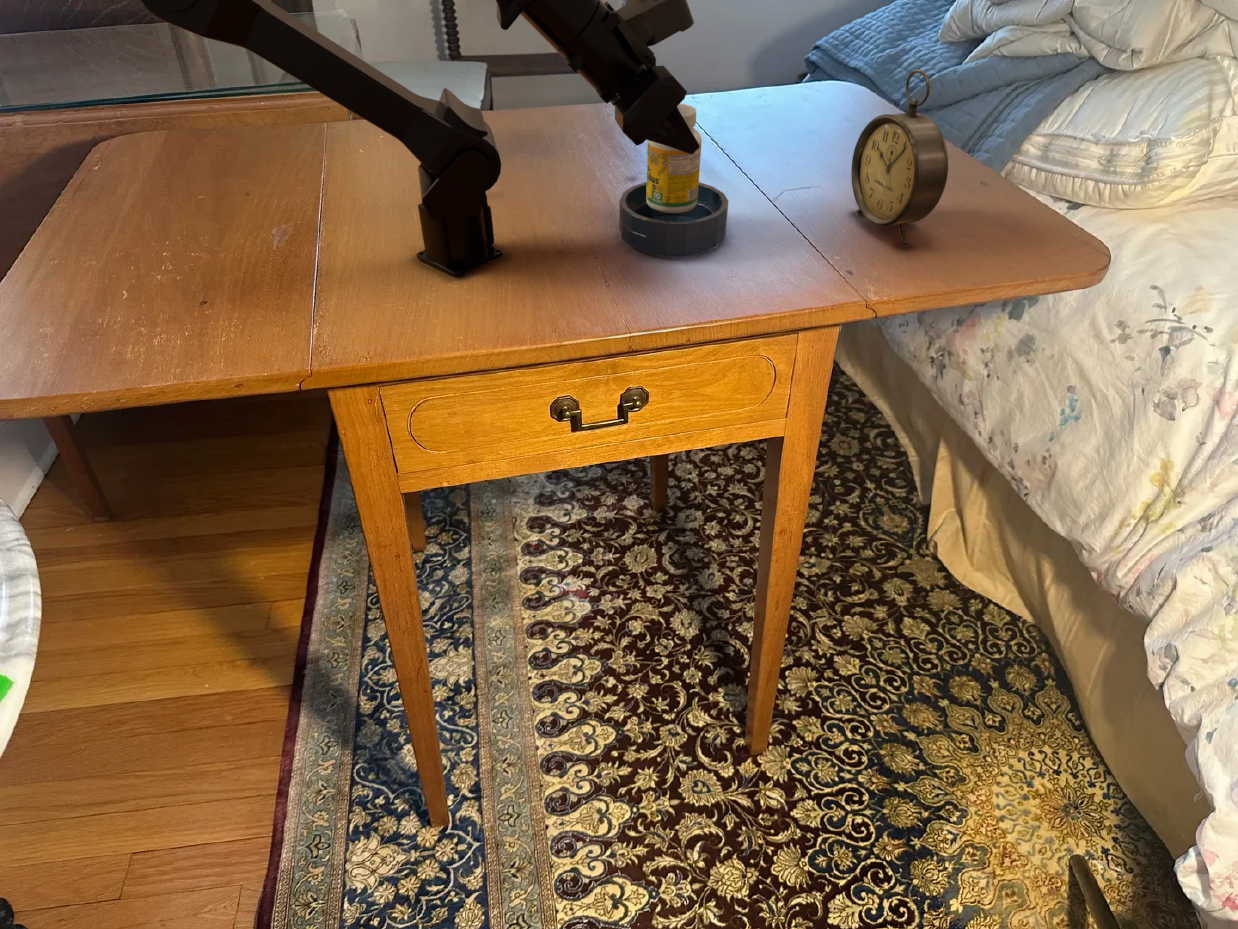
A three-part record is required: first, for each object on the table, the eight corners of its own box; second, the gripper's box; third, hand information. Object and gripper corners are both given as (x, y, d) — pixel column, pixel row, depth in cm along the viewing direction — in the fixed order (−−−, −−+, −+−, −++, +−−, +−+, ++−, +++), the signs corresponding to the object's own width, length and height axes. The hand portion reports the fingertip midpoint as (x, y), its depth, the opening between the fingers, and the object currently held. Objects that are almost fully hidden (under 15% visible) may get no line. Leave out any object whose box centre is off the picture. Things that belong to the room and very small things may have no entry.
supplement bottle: (702, 212, 88) (710, 116, 82) (652, 216, 87) (655, 120, 81) (689, 191, 92) (695, 99, 86) (640, 195, 92) (643, 101, 85)
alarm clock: (840, 212, 97) (866, 57, 86) (881, 204, 98) (911, 52, 88) (896, 254, 89) (933, 89, 78) (940, 245, 90) (982, 83, 80)
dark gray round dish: (681, 271, 86) (683, 233, 84) (598, 238, 92) (597, 202, 89) (746, 233, 93) (749, 198, 90) (664, 205, 98) (665, 170, 96)
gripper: (667, -30, 67) (782, 107, 76) (617, -70, 81) (719, 50, 90) (571, 81, 71) (691, 200, 80) (538, 25, 85) (644, 131, 94)
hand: (687, 139), depth 86 cm, fingers closed on supplement bottle, 5 cm apart
